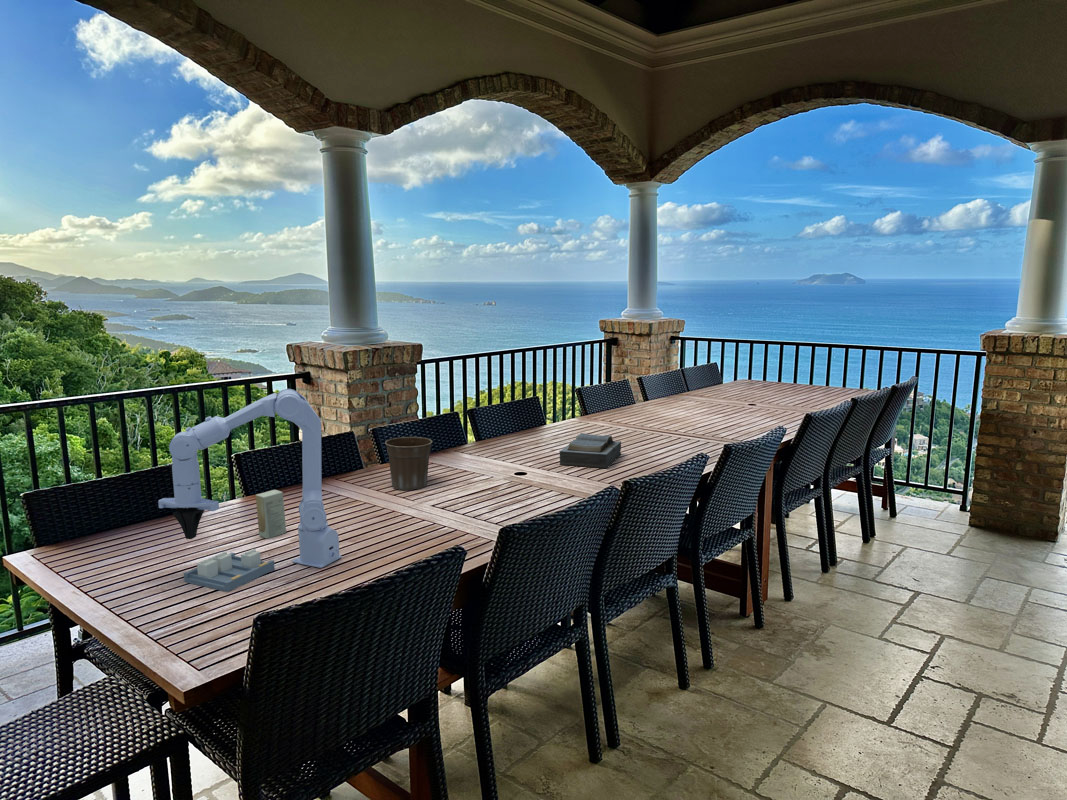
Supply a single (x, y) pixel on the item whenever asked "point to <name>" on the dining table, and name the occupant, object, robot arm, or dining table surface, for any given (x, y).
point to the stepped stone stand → (590, 451)
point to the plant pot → (409, 462)
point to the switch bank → (230, 575)
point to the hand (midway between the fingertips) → (191, 537)
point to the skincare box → (270, 513)
